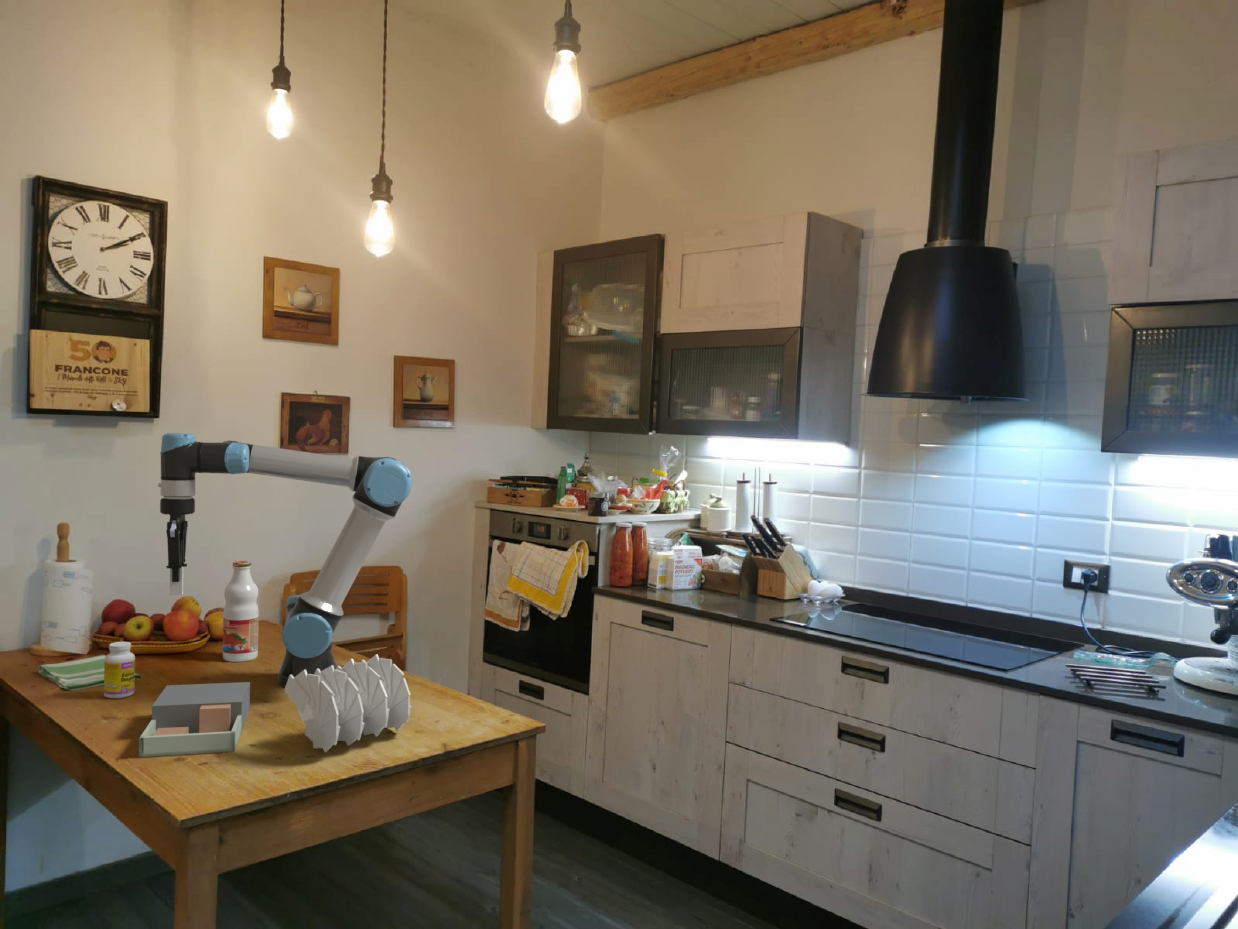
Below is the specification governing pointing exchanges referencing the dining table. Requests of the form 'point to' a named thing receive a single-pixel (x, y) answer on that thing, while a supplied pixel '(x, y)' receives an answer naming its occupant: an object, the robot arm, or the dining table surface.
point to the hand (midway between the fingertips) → (176, 594)
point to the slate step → (199, 703)
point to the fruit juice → (240, 616)
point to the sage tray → (188, 742)
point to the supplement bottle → (119, 671)
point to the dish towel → (77, 673)
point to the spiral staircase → (350, 700)
